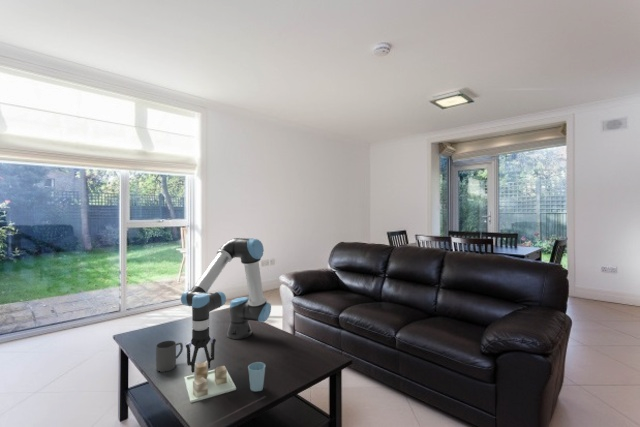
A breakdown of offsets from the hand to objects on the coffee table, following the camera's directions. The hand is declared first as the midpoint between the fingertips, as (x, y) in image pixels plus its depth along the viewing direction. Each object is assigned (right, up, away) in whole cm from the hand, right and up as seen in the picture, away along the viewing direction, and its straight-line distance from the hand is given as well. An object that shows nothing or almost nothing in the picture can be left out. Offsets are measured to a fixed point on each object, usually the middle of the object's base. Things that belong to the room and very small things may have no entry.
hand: (200, 376), depth 147 cm
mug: (-21, -2, +14) cm, 25 cm away
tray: (+5, -2, -3) cm, 7 cm away
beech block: (+10, -1, -1) cm, 10 cm away
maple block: (+4, -2, -12) cm, 12 cm away
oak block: (0, 0, 0) cm, 0 cm away
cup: (+28, -2, -6) cm, 28 cm away
